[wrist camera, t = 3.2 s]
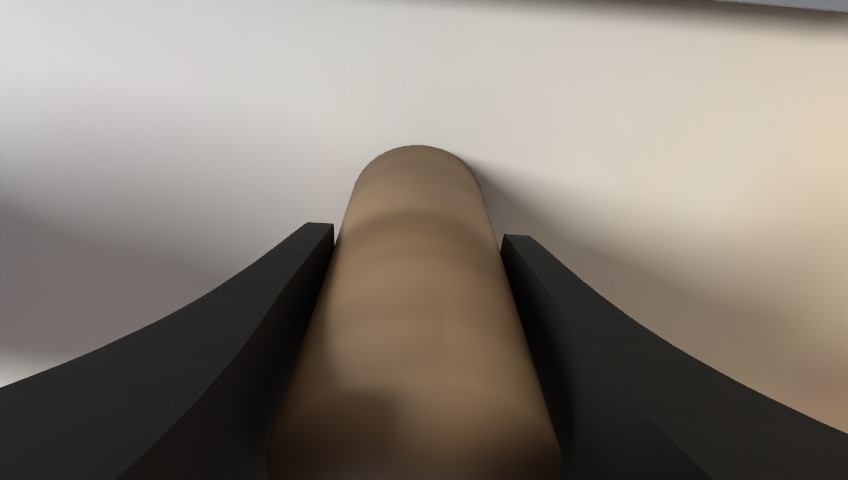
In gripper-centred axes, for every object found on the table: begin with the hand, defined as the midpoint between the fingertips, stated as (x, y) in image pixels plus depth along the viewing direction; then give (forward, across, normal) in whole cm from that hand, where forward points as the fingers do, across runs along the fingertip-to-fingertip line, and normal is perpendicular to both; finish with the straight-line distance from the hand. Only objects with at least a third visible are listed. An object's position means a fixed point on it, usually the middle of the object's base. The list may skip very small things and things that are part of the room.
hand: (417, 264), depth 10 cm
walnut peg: (+3, 0, 0) cm, 3 cm away
